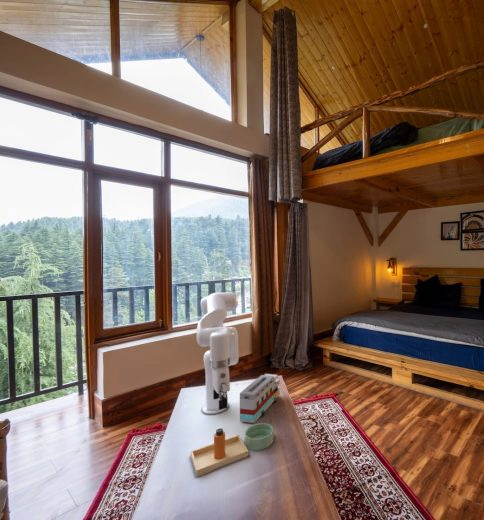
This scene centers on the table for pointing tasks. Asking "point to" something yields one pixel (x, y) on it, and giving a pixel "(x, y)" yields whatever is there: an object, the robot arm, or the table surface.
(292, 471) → the table surface
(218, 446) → the bottle
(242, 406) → the multicoloured piece
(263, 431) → the bowl
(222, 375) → the robot arm
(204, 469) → the tray
